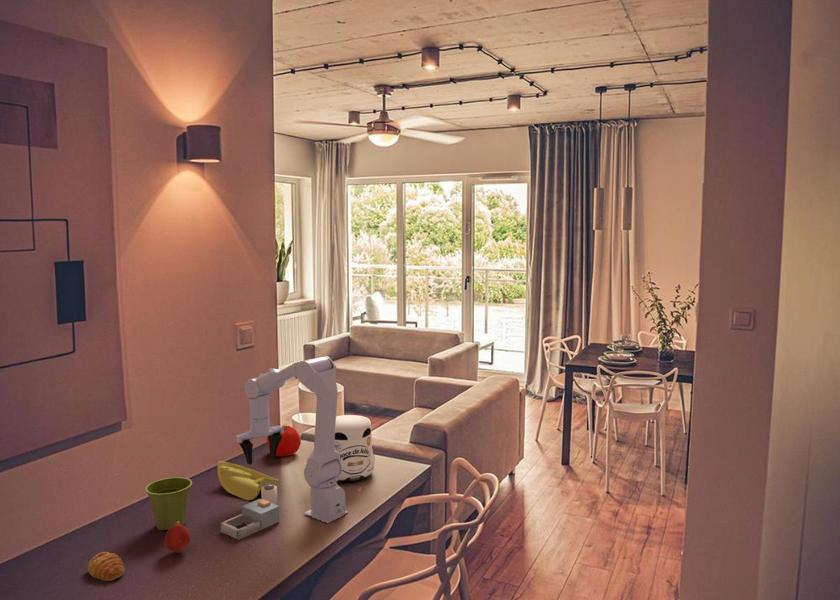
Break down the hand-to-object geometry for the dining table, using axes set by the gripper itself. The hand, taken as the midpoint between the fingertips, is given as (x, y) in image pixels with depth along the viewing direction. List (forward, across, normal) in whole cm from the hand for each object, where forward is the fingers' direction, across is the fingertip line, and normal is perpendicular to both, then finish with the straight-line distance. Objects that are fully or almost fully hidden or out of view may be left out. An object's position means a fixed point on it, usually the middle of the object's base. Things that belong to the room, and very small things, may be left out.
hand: (261, 460), depth 191 cm
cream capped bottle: (+10, +4, +12) cm, 16 cm away
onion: (+10, +33, +20) cm, 40 cm away
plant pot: (+10, +29, +4) cm, 31 cm away
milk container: (+10, -27, +6) cm, 29 cm away
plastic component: (+10, +2, -6) cm, 12 cm away
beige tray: (+10, +16, +19) cm, 27 cm away
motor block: (+10, +9, +18) cm, 23 cm away
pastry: (+10, +48, +18) cm, 52 cm away
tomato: (+10, -20, -25) cm, 34 cm away
